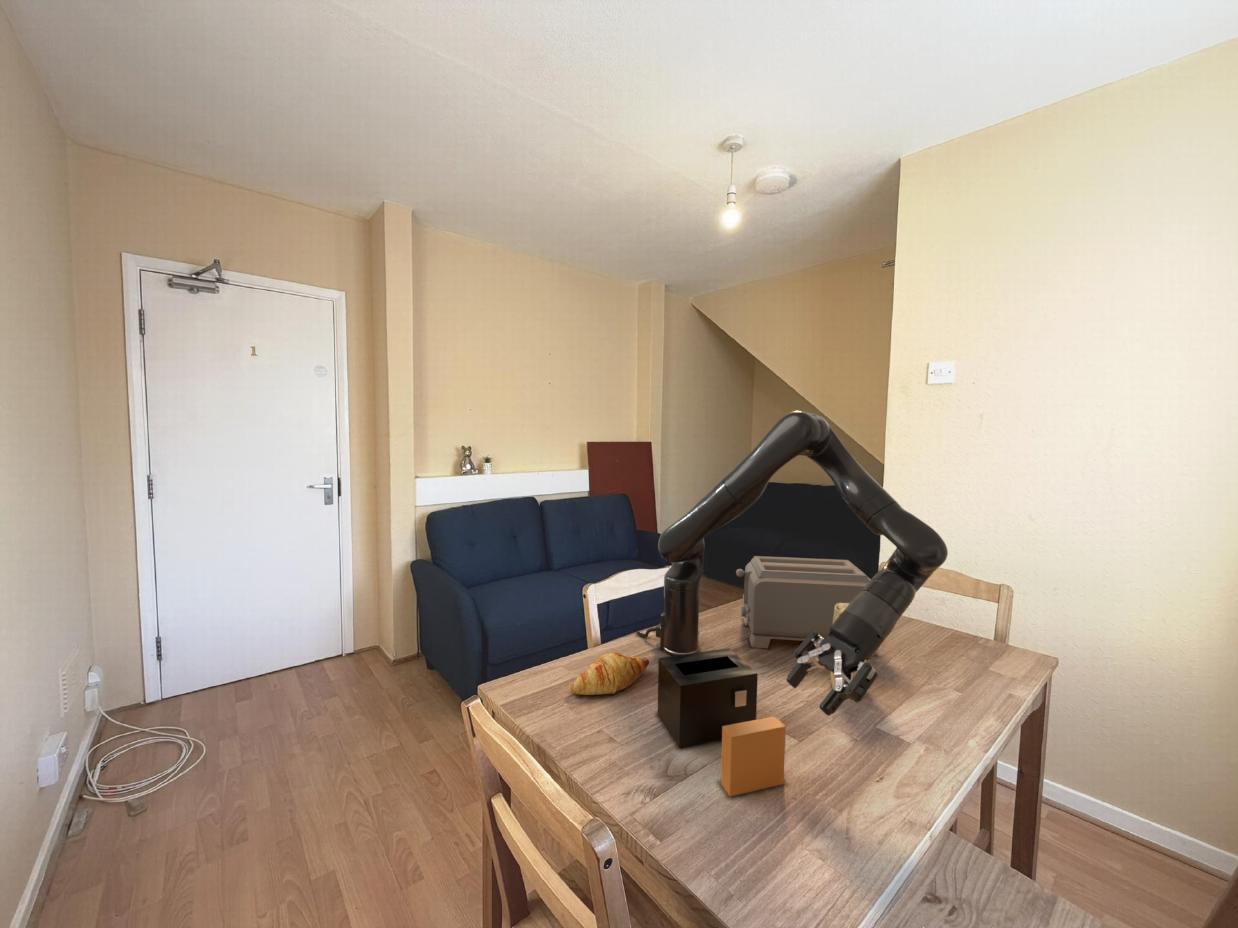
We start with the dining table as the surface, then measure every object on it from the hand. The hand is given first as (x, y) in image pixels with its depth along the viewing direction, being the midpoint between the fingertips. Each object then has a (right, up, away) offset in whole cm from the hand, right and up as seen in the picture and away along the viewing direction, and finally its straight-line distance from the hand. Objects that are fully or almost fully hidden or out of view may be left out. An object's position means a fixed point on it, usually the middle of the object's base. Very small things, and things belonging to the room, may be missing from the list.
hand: (806, 697), depth 82 cm
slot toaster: (-15, -12, +14) cm, 24 cm away
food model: (+20, -12, +28) cm, 36 cm away
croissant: (-34, -11, +29) cm, 46 cm away
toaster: (+19, -9, +55) cm, 59 cm away
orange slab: (-10, -13, -2) cm, 17 cm away
